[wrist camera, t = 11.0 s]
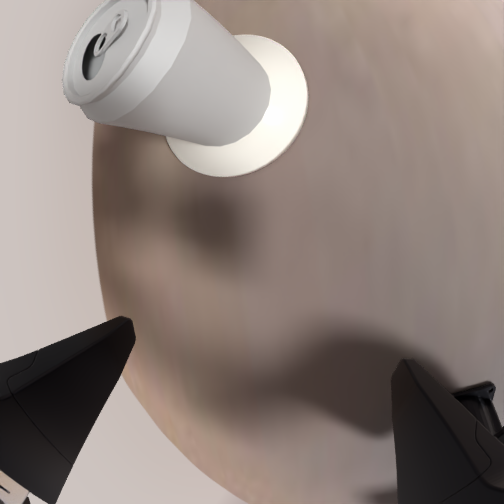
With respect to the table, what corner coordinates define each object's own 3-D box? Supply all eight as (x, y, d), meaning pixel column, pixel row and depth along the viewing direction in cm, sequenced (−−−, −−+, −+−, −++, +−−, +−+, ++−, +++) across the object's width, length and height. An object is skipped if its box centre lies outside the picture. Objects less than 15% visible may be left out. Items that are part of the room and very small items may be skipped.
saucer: (282, 21, 16) (279, 15, 15) (329, 152, 17) (327, 150, 16) (162, 76, 21) (155, 73, 20) (183, 195, 22) (176, 195, 21)
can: (176, 86, 19) (55, 42, 9) (256, 43, 16) (156, -50, 5) (197, 164, 20) (54, 151, 9) (290, 124, 17) (181, 39, 6)
